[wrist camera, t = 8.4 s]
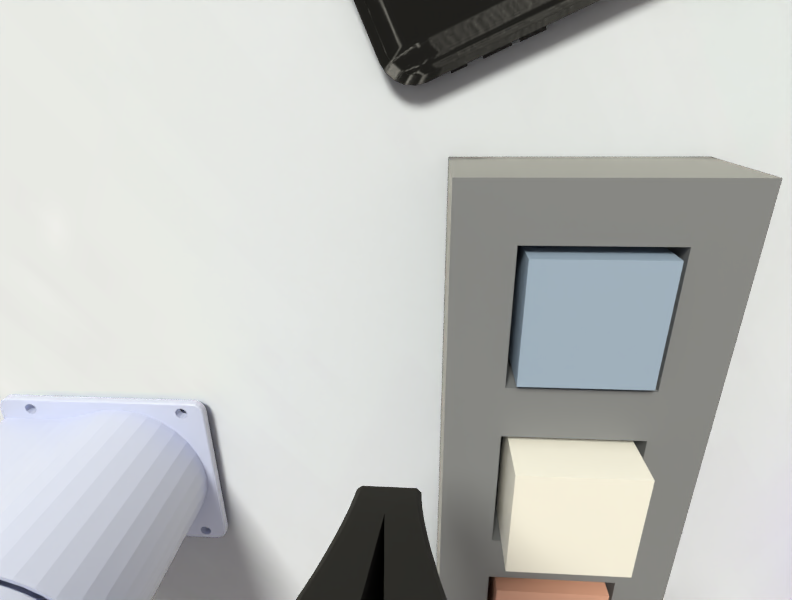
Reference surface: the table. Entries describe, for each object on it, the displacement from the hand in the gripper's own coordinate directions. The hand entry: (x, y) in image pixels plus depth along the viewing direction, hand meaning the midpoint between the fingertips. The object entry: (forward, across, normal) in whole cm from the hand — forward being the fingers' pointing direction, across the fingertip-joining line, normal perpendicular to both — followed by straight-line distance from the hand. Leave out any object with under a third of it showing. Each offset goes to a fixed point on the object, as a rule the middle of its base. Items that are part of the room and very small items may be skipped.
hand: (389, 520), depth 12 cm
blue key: (+9, -6, -2) cm, 11 cm away
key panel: (+10, -6, +5) cm, 13 cm away
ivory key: (+8, -6, +5) cm, 11 cm away
